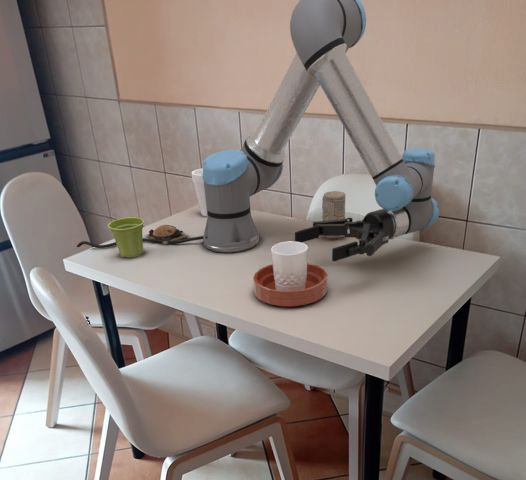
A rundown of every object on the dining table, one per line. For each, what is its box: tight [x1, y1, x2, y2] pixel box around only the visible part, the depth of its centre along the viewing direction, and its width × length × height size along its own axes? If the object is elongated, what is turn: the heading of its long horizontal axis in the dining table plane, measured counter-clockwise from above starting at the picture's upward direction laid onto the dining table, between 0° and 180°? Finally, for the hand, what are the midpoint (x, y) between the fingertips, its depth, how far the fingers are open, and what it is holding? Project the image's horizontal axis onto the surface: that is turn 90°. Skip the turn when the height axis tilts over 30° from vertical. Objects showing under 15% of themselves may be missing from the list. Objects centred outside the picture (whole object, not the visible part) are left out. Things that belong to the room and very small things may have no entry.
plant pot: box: [107, 216, 145, 259], centre depth 152 cm, size 9×9×9 cm
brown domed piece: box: [146, 224, 188, 246], centre depth 163 cm, size 11×8×4 cm
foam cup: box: [191, 167, 207, 217], centre depth 178 cm, size 10×9×13 cm
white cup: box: [270, 240, 309, 291], centre depth 126 cm, size 8×8×10 cm
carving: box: [321, 190, 346, 239], centre depth 154 cm, size 6×8×12 cm
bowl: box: [252, 262, 328, 307], centre depth 128 cm, size 16×16×4 cm
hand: (313, 246), depth 127 cm, fingers open, 13 cm apart
